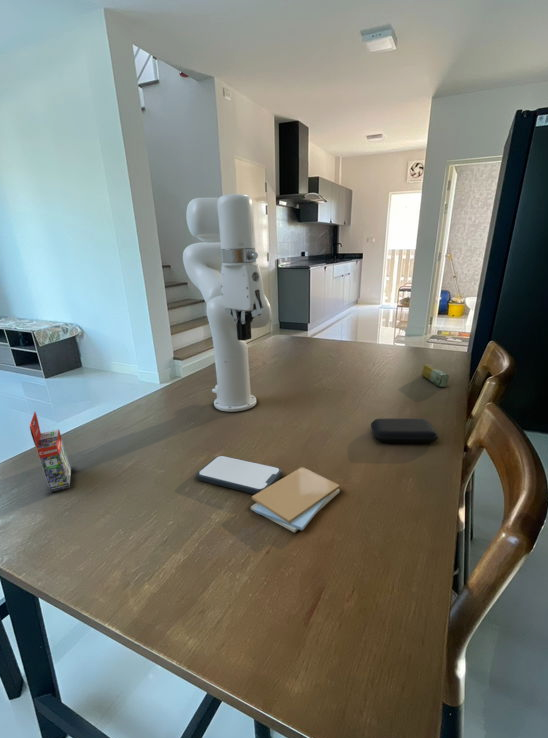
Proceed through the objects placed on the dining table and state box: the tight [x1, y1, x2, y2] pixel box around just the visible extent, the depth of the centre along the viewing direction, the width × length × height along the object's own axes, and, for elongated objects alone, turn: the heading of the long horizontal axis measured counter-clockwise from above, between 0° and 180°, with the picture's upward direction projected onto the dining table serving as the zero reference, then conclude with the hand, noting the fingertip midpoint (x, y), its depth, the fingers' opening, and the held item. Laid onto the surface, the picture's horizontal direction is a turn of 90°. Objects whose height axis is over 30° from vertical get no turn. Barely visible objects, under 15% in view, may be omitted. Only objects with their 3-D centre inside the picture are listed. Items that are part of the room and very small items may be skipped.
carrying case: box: [370, 417, 439, 444], centre depth 93 cm, size 11×3×15 cm
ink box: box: [29, 411, 72, 493], centre depth 76 cm, size 4×8×15 cm, turn 26°
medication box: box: [421, 364, 450, 388], centre depth 127 cm, size 12×3×4 cm, turn 10°
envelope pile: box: [250, 466, 341, 534], centre depth 70 cm, size 12×15×2 cm
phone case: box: [196, 455, 283, 495], centre depth 78 cm, size 9×2×16 cm
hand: (244, 339), depth 92 cm, fingers closed
